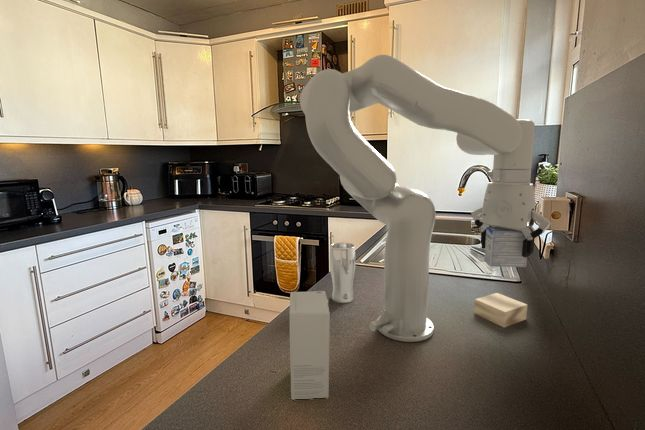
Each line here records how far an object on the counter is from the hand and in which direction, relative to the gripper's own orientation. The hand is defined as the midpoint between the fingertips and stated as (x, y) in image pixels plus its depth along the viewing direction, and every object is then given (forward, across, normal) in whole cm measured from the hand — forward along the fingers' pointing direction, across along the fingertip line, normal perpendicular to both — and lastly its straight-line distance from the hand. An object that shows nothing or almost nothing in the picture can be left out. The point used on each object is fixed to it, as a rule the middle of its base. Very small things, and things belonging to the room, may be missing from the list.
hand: (505, 251), depth 81 cm
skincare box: (+16, -9, -50) cm, 53 cm away
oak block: (+16, 0, 0) cm, 16 cm away
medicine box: (+3, 0, 0) cm, 3 cm away
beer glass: (+16, -32, -22) cm, 42 cm away
